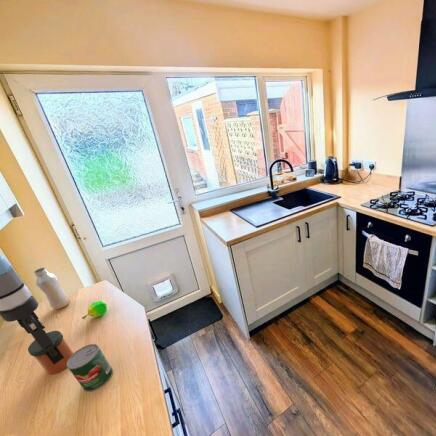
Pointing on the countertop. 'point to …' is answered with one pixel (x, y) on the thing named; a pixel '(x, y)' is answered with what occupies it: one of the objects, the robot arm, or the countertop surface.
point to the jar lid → (36, 348)
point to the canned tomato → (90, 367)
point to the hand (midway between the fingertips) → (53, 353)
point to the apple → (96, 309)
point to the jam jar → (60, 365)
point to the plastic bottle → (51, 288)
